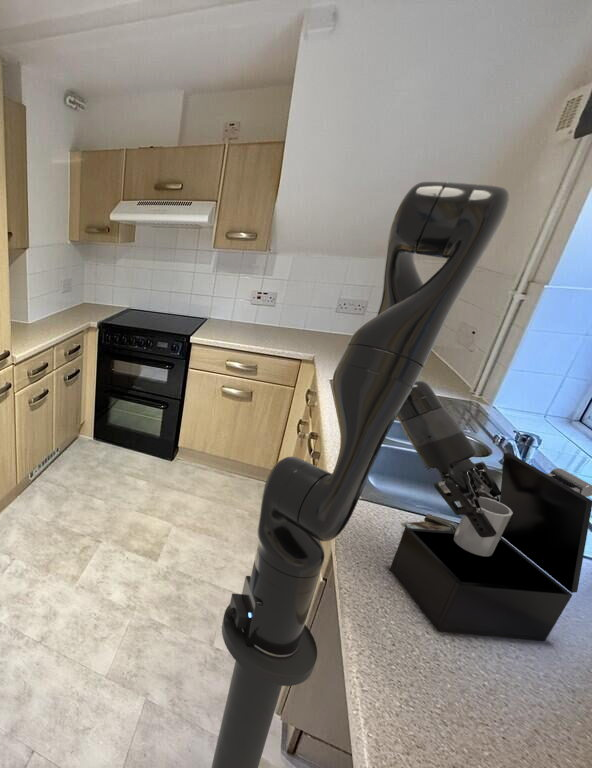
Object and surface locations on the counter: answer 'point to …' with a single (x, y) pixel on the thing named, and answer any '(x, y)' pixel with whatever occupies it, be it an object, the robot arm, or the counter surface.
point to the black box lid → (547, 517)
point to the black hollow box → (477, 587)
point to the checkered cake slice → (434, 524)
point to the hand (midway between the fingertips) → (496, 530)
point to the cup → (470, 538)
